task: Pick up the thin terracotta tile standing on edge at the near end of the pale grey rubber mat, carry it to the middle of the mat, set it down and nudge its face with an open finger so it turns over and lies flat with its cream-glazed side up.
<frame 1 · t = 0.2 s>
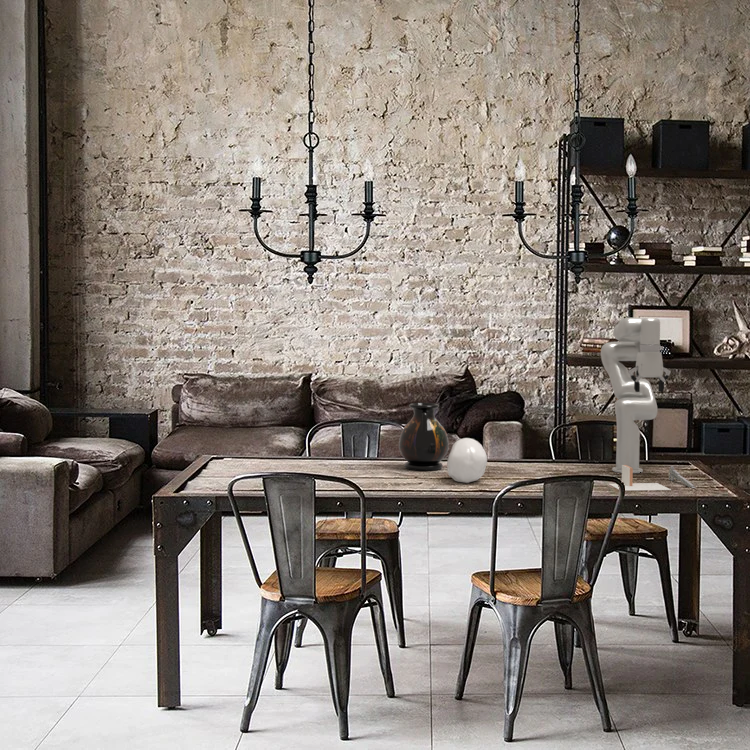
hand: (649, 391, 403), 36 cm above the table, tool pointing down, fingers open, 9 cm apart
mat: (639, 488, 390), on the table
tile: (626, 484, 395), point 1 cm above the table, touching mat
black vase: (423, 468, 435), on the table
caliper: (681, 485, 399), on the table
white egg: (465, 480, 407), on the table
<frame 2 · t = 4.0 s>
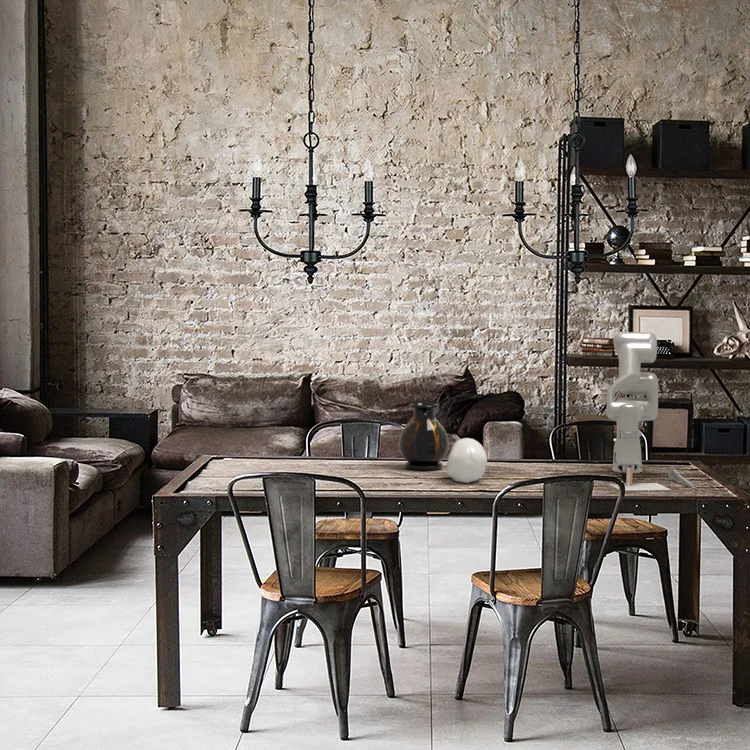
hand: (627, 481, 395), 2 cm above the table, tool pointing down, fingers closed on tile, 1 cm apart
tile: (626, 484, 395), point 1 cm above the table, touching gripper
everything else where it was.
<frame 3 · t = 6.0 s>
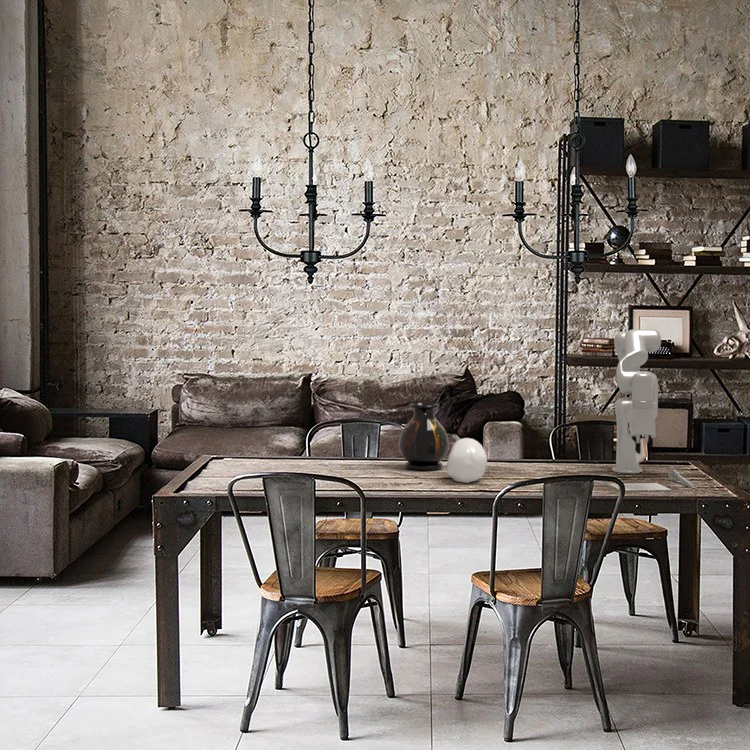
hand: (640, 452, 385), 14 cm above the table, tool pointing down, fingers closed on tile, 1 cm apart
tile: (642, 459, 384), point 12 cm above the table, tilted 25°, touching gripper
everything else where it was.
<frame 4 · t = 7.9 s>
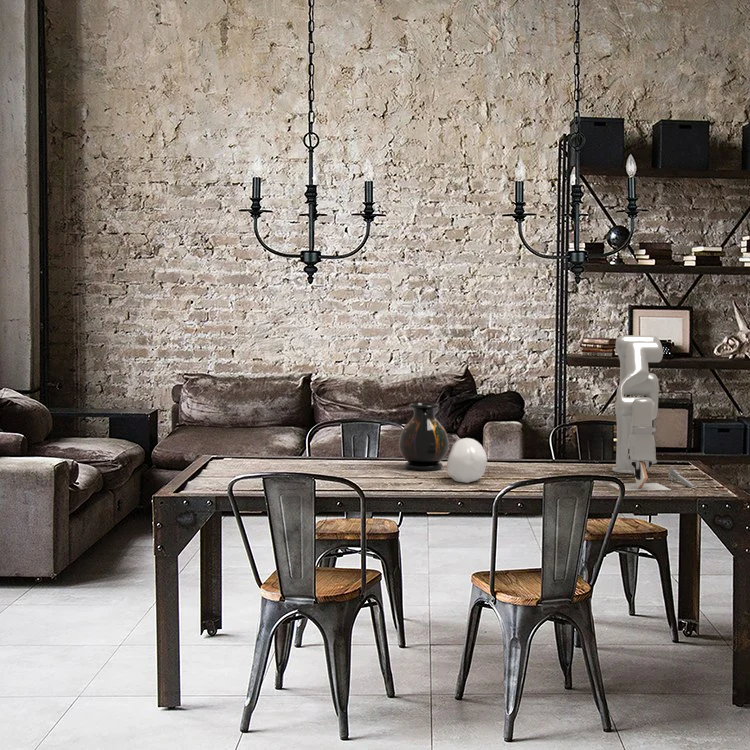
hand: (641, 478, 385), 4 cm above the table, tool pointing down, fingers closed on tile, 1 cm apart
tile: (642, 483, 383), point 3 cm above the table, tilted 39°, touching gripper, mat
everything else where it was.
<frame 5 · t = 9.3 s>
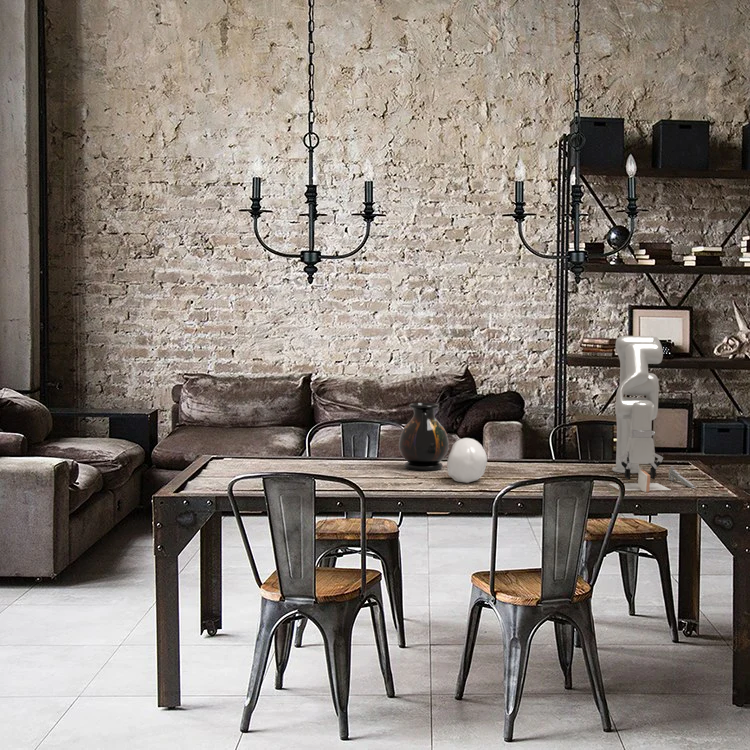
hand: (640, 478, 386), 4 cm above the table, tool pointing down, fingers open, 9 cm apart
tile: (643, 490, 382), point 1 cm above the table, tilted 8°, touching mat
everything else where it was.
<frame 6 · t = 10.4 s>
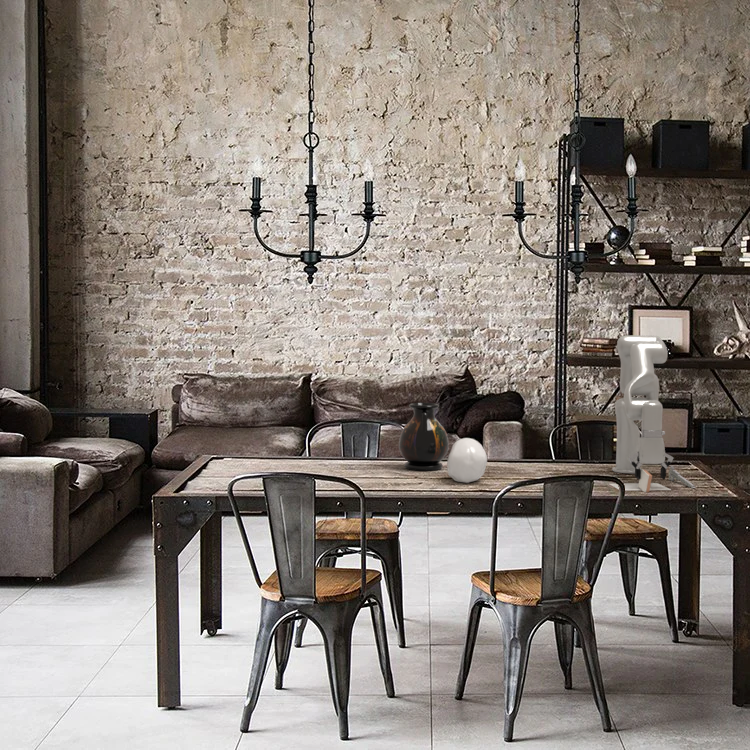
hand: (650, 478, 386), 4 cm above the table, tool pointing down, fingers open, 9 cm apart
tile: (643, 489, 382), point 1 cm above the table, tilted 10°, touching gripper, mat
everything else where it was.
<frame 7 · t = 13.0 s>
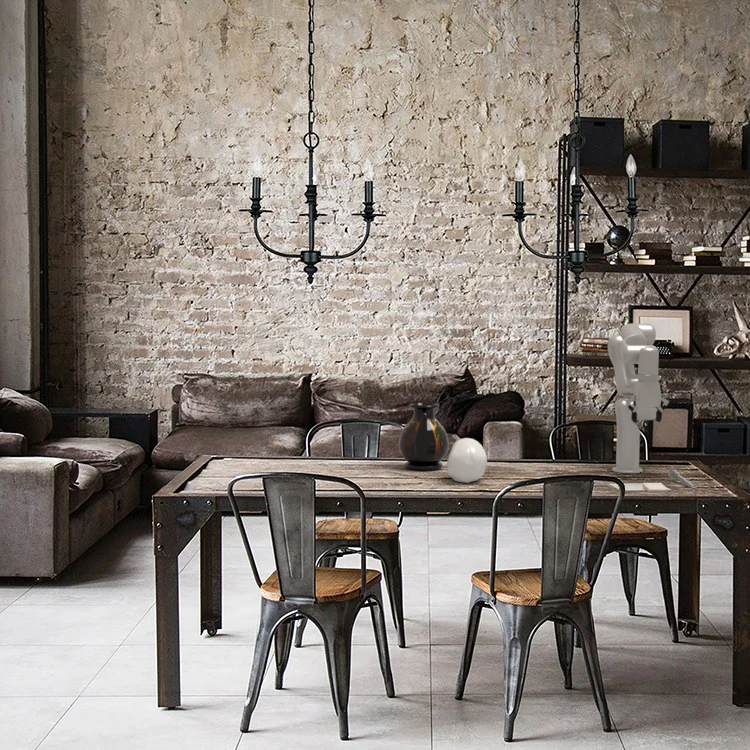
hand: (646, 421, 397), 25 cm above the table, tool pointing down, fingers open, 9 cm apart
tile: (646, 488, 382), point 1 cm above the table, tilted 90°, touching mat
everything else where it was.
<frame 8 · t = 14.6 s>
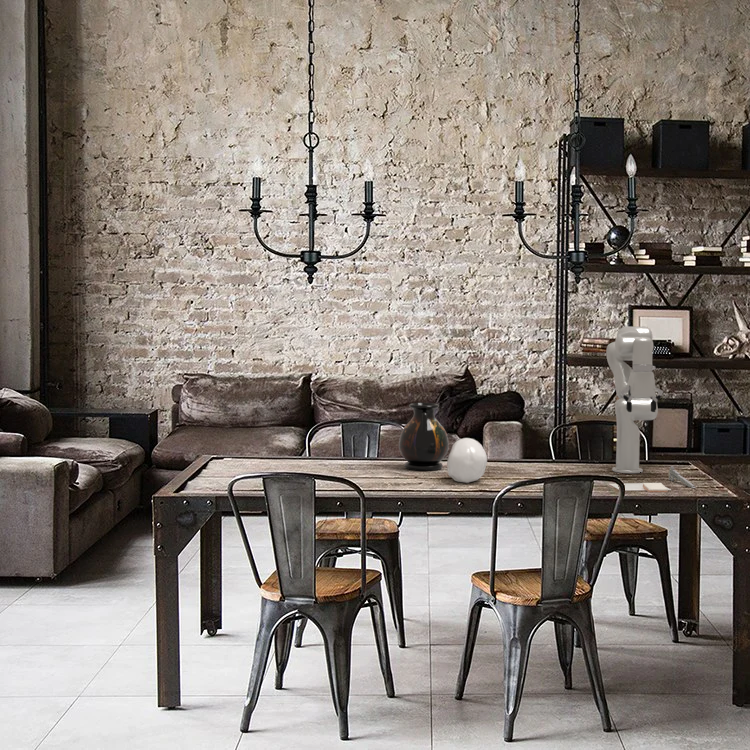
hand: (641, 411, 402), 28 cm above the table, tool pointing down, fingers open, 9 cm apart
nothing on the table moved.
at the end: tile tilted 90°; tile inside the target area (4.9 cm from its centre), point 1.4 cm above the table; the gripper is holding nothing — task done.
